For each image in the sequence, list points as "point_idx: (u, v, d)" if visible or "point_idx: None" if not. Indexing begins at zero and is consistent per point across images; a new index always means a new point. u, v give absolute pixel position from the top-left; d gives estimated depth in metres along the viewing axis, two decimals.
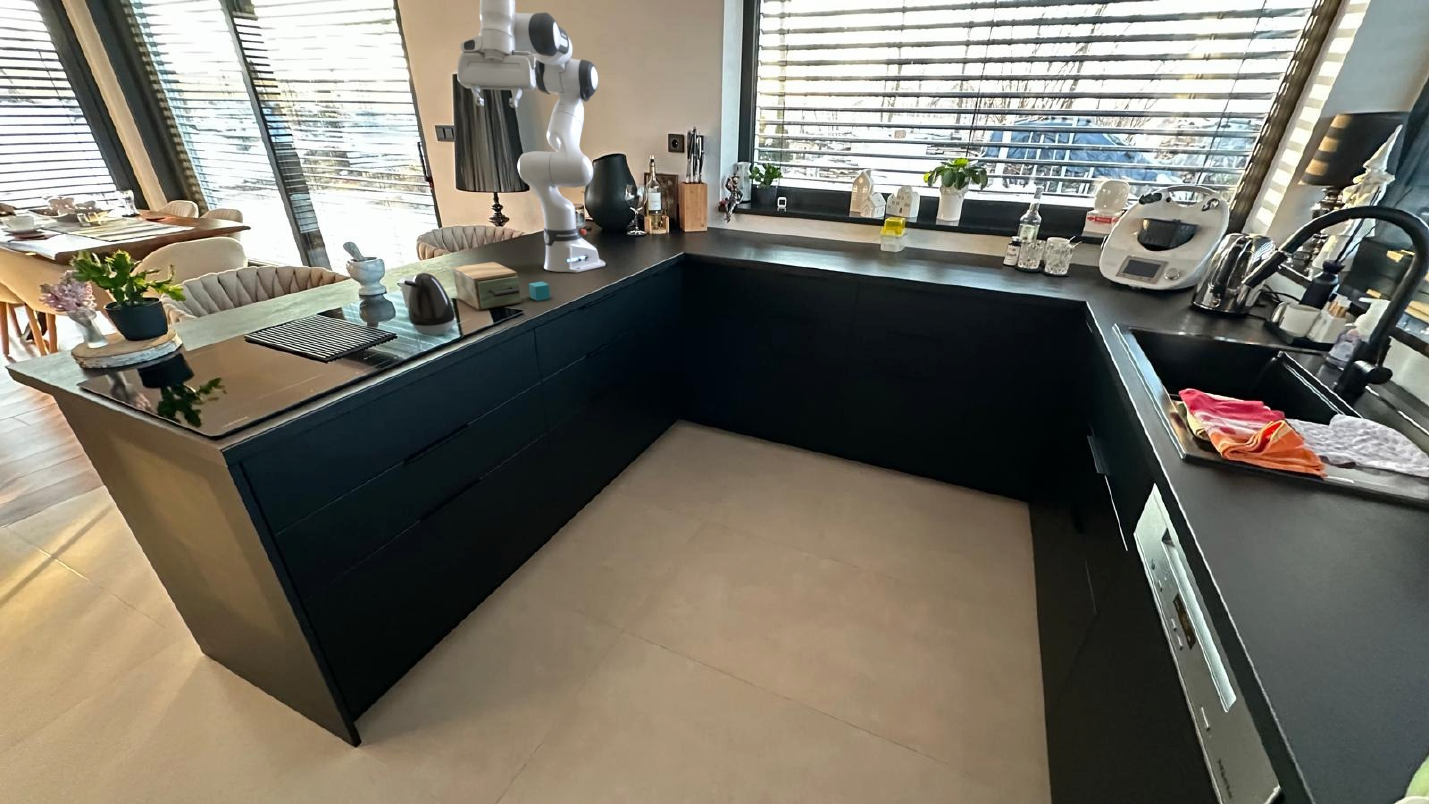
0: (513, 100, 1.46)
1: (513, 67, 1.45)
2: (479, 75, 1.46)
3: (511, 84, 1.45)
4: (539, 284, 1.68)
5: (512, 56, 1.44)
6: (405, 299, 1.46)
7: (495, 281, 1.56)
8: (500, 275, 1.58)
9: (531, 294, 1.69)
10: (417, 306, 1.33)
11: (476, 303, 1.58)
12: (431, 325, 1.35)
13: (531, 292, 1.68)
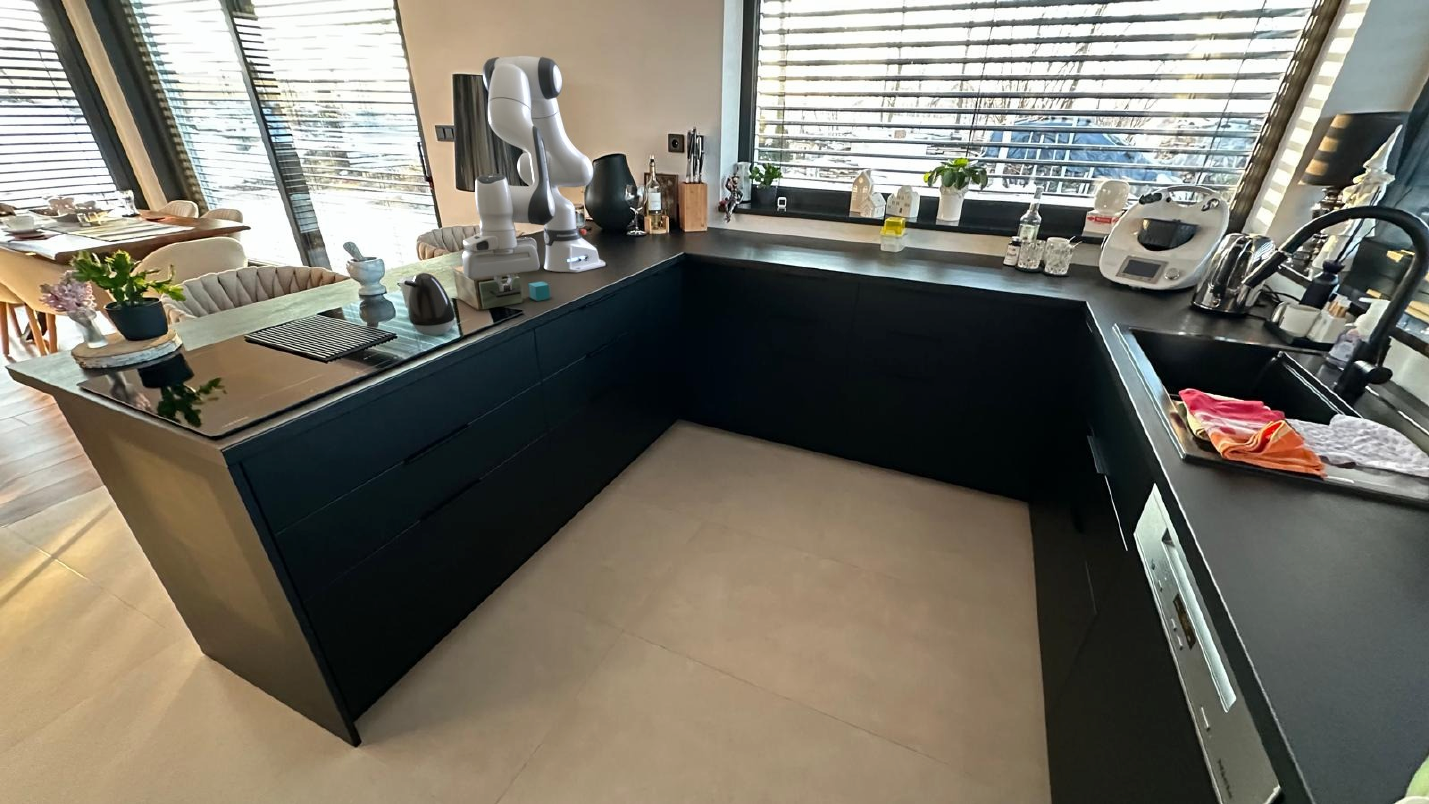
0: (510, 286, 1.54)
1: (522, 256, 1.53)
2: (491, 269, 1.48)
3: (523, 271, 1.54)
4: (539, 284, 1.68)
5: (520, 247, 1.51)
6: (405, 299, 1.46)
7: (496, 282, 1.56)
8: None
9: (531, 294, 1.69)
10: (417, 306, 1.33)
11: (476, 303, 1.58)
12: (431, 325, 1.35)
13: (531, 292, 1.68)
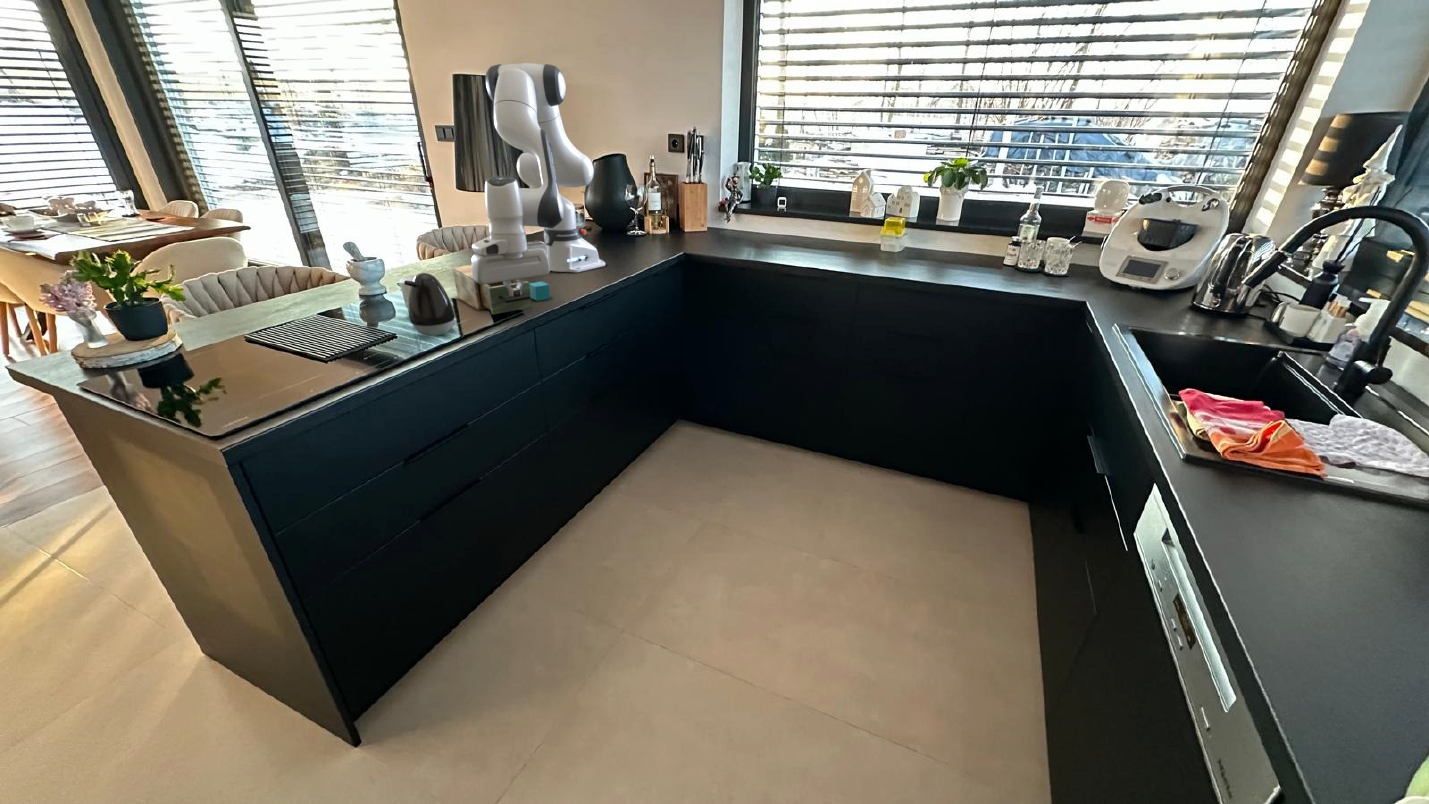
0: (520, 291, 1.50)
1: (533, 260, 1.49)
2: (501, 274, 1.44)
3: (533, 276, 1.51)
4: (539, 284, 1.68)
5: (530, 250, 1.48)
6: (405, 299, 1.46)
7: None
8: None
9: (531, 294, 1.69)
10: (417, 306, 1.33)
11: (476, 303, 1.58)
12: (431, 325, 1.35)
13: (531, 292, 1.68)
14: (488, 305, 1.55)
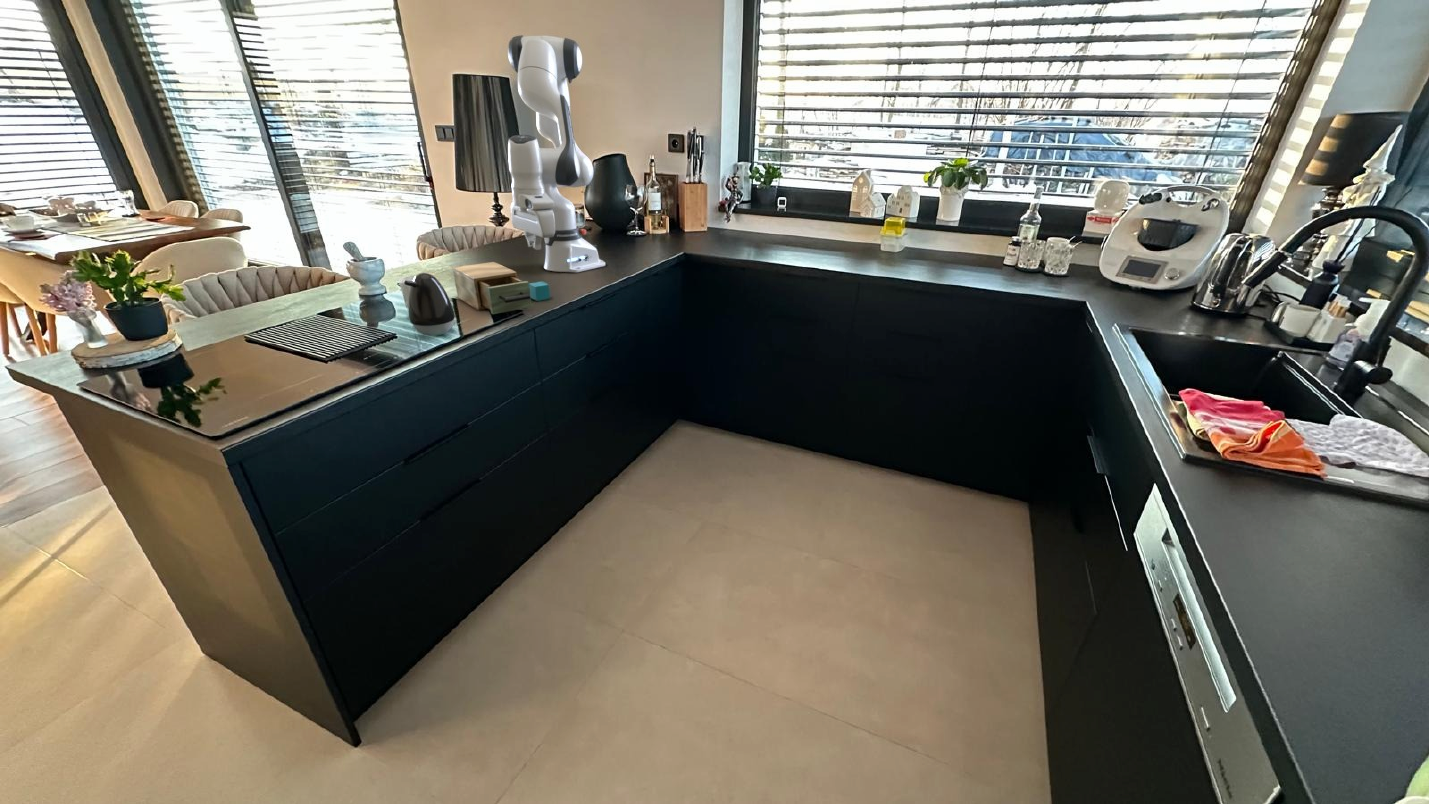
0: None
1: None
2: None
3: None
4: (539, 284, 1.68)
5: None
6: (405, 299, 1.46)
7: (505, 286, 1.52)
8: (500, 275, 1.58)
9: (531, 294, 1.69)
10: (417, 306, 1.33)
11: (476, 303, 1.58)
12: (431, 325, 1.35)
13: (531, 292, 1.68)
14: (488, 305, 1.55)
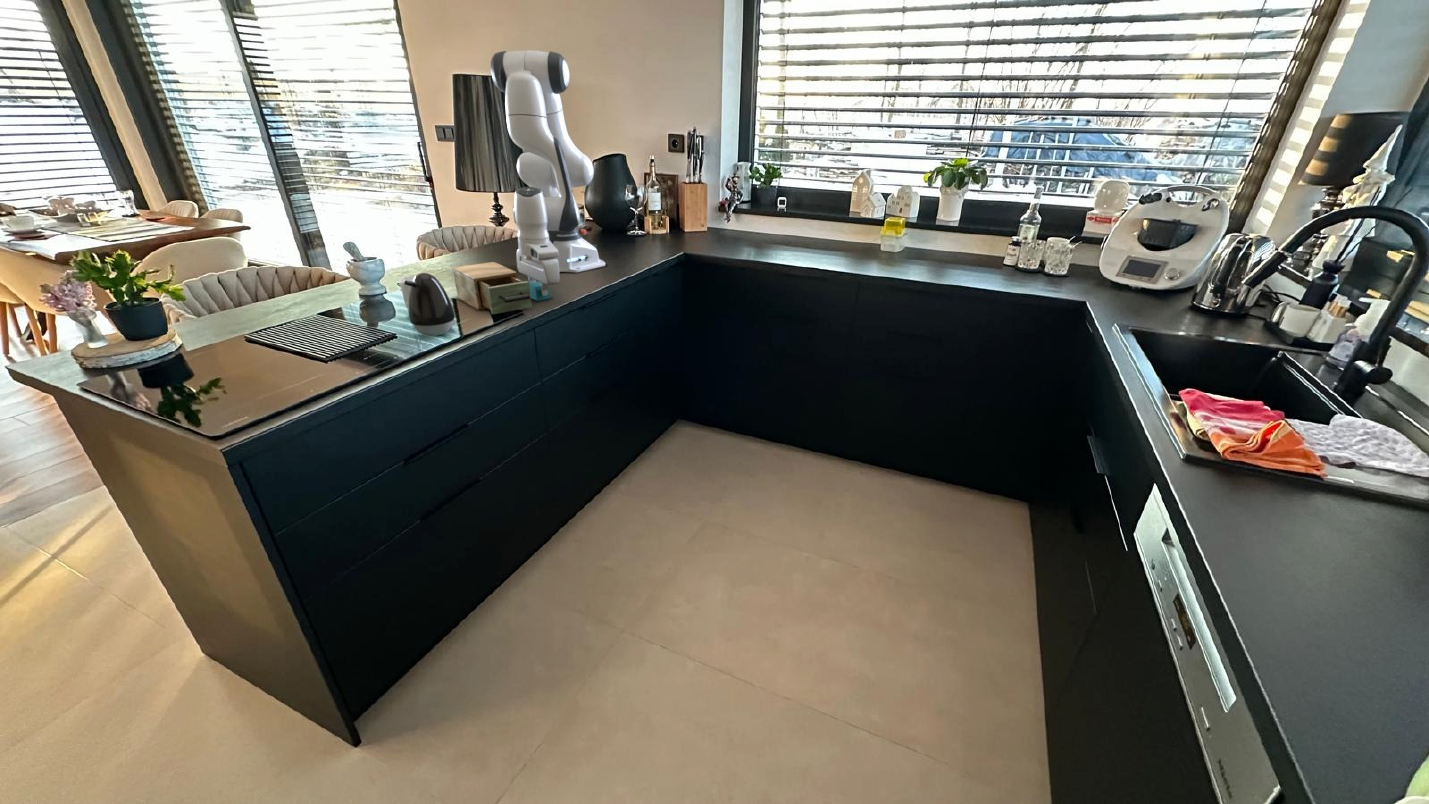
0: None
1: None
2: None
3: None
4: (539, 284, 1.68)
5: None
6: (405, 299, 1.46)
7: (505, 286, 1.52)
8: (500, 275, 1.58)
9: (531, 294, 1.69)
10: (417, 306, 1.33)
11: (476, 303, 1.58)
12: (431, 325, 1.35)
13: (531, 292, 1.68)
14: (488, 305, 1.55)
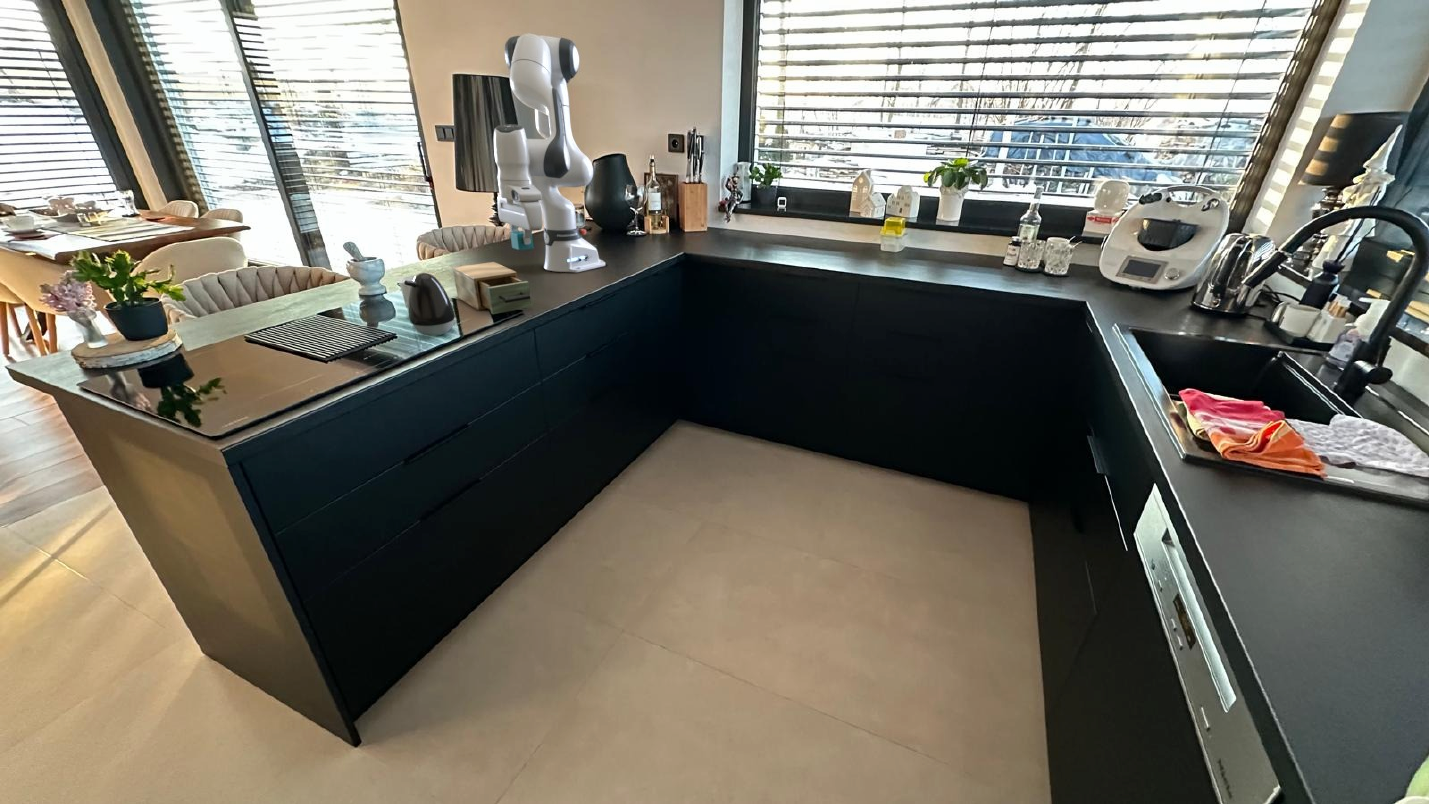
0: None
1: None
2: None
3: None
4: (521, 232, 1.56)
5: None
6: (405, 299, 1.46)
7: (505, 286, 1.52)
8: (500, 275, 1.58)
9: (513, 243, 1.57)
10: (417, 306, 1.33)
11: (476, 303, 1.58)
12: (431, 325, 1.35)
13: (513, 241, 1.57)
14: (488, 305, 1.55)
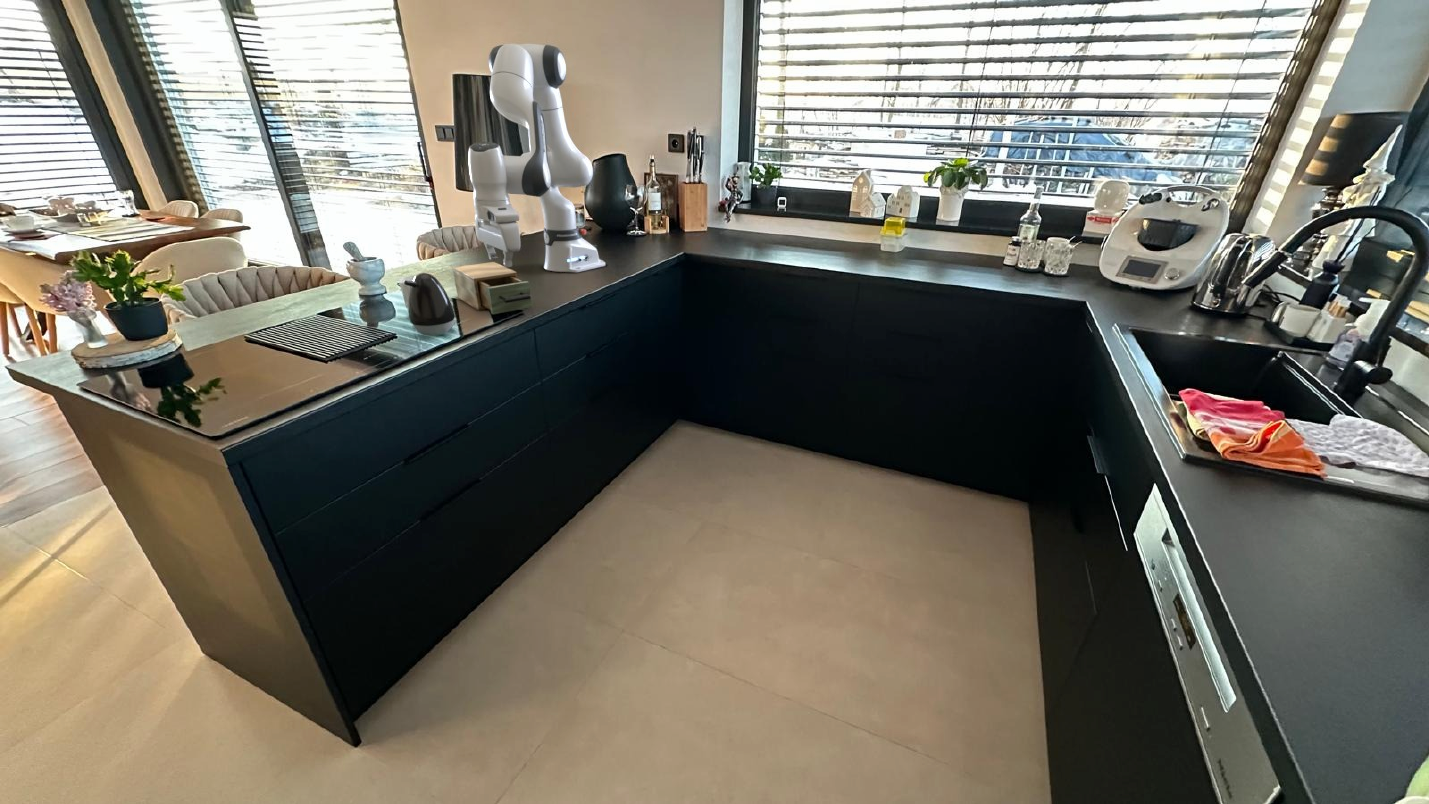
0: None
1: None
2: None
3: None
4: None
5: None
6: (405, 299, 1.46)
7: (506, 286, 1.52)
8: (500, 275, 1.58)
9: None
10: (417, 306, 1.33)
11: (476, 303, 1.58)
12: (431, 325, 1.35)
13: None
14: (488, 305, 1.55)
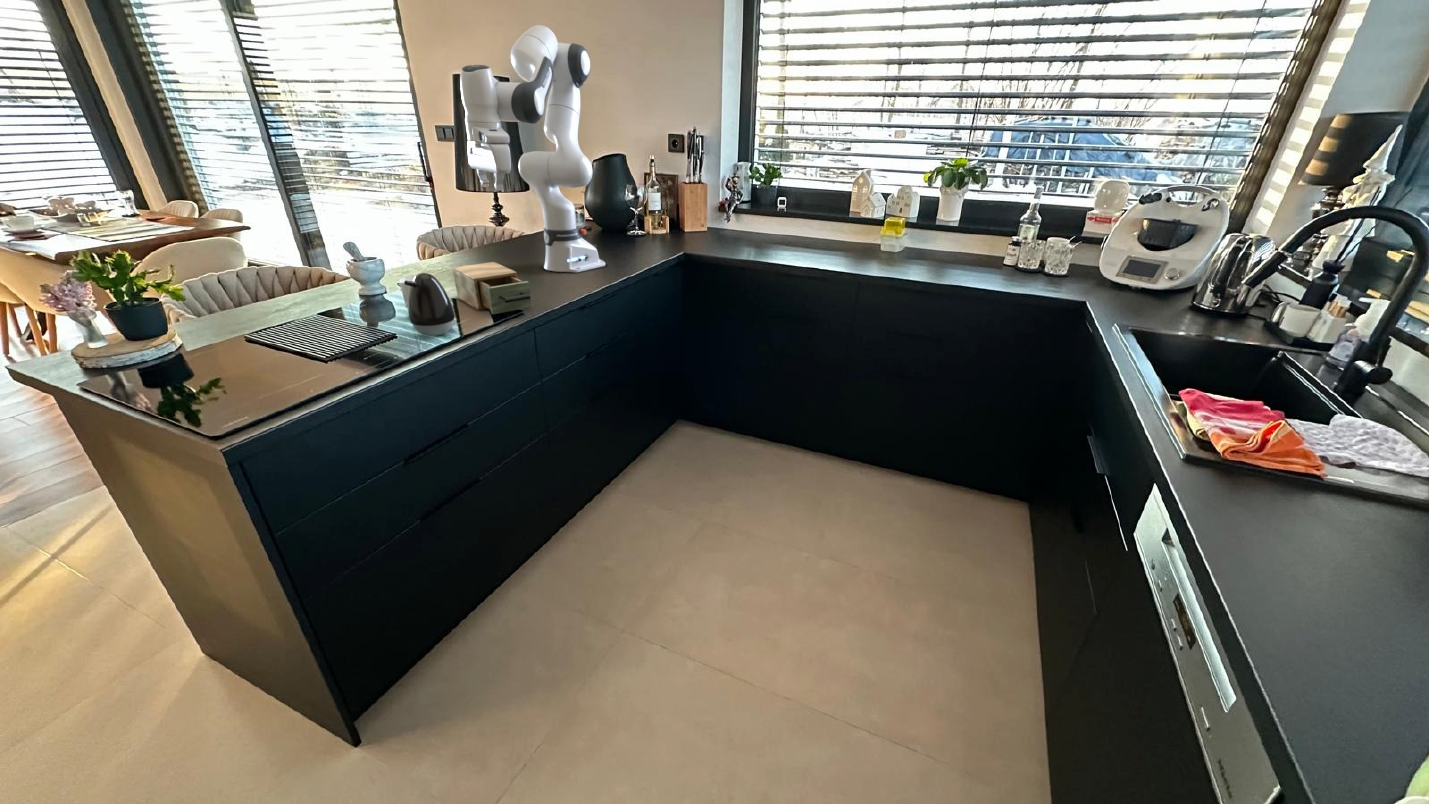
0: None
1: None
2: None
3: None
4: None
5: None
6: (405, 299, 1.46)
7: (506, 286, 1.52)
8: (500, 275, 1.58)
9: None
10: (417, 306, 1.33)
11: (476, 303, 1.58)
12: (431, 325, 1.35)
13: None
14: (488, 305, 1.55)
